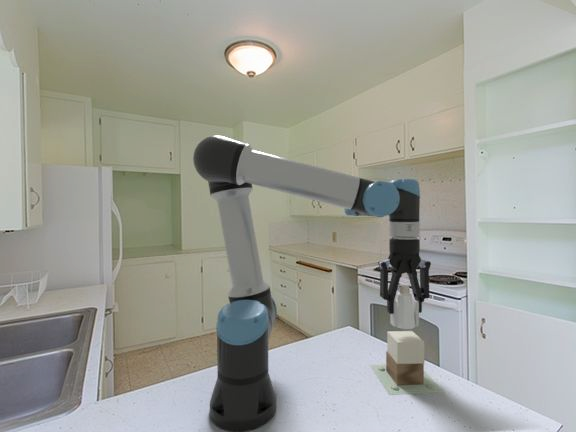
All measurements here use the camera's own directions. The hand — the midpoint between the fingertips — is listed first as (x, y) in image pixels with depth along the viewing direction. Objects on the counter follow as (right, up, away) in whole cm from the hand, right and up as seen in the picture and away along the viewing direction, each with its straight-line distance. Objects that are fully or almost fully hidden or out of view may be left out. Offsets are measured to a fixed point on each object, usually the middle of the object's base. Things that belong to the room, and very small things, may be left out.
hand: (404, 324), depth 79 cm
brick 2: (0, -14, 0) cm, 14 cm away
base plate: (0, -15, 0) cm, 15 cm away
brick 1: (0, -9, 0) cm, 9 cm away
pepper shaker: (0, 0, 0) cm, 0 cm away
